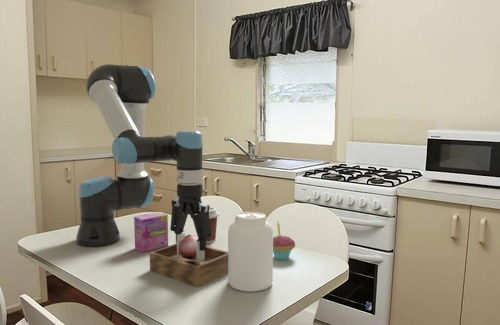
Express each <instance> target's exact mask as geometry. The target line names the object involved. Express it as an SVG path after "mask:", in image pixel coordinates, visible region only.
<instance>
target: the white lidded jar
mask: <svg viewBox="0 0 500 325" xmlns="http://www.w3.org/2000/svg"><path fill="white" fill-rule="evenodd" d="M227 238H228V239H227V246H228V248H227V252H228V273H227V281H228V284H229V286H230V287H231V288H233V289H235V290H237V291H242V292H247V293H248V292H250V293H251V292H260V291H264V290H266V289H268V288H270V287H271V285H272V283H273V278H274V276H273V275H274V272H273V270H274V268H273V267H274V253H273V238H274V230H273V226H272V224H271V223H269V221H268V220H267V216H266V214H265V213H264V212H260V211H243V212H239V213H237V214H236V215H235V217H234V221H232V223H231V224H230V225H229V227H228V231H227Z"/></svg>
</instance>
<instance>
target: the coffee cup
mask: <svg viewBox="0 0 500 325" xmlns="http://www.w3.org/2000/svg"><path fill="white" fill-rule="evenodd" d="M196 214H197V213H196ZM196 214H194V215H196ZM219 216H220V212H218V211H217V208H216V207H213V206H212V207H211V206H210V208H209V219H210V227H211V238H208V239H206V244H211V243H214V242H216V240H217V239H216V237H217V228H218V226H217V224H218V217H219Z"/></svg>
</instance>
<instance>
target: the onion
mask: <svg viewBox="0 0 500 325" xmlns="http://www.w3.org/2000/svg"><path fill="white" fill-rule="evenodd" d="M197 239H198V236H194V235H192V234H187V235H185V237H184V238H183V239H182V240H181V242H180V244H179V253H180V255H181V256H182V257H183V258H185V259H189V260H196V240H197Z"/></svg>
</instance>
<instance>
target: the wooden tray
mask: <svg viewBox="0 0 500 325" xmlns="http://www.w3.org/2000/svg"><path fill="white" fill-rule="evenodd" d="M149 271H152V272H154V273H157V274H159V275H162V276H165V277H168V278H170V279H173V280H175V281H176V280H177V281H179V282H182V283H186V284H187V285H191V286H194V287H196V288H199V287H201V286H202V285H205V284H207V283H208V282H209V283H210V282H211V281H213V280H215V279H218V278H220V277H221V276H224V275H226V274H228V251H226V250H223V249H219V248H215V247H211V246H207V245H206V250H205V259H204V260H202V261H199V262H197V261H196V260H189V259H185V258H183V257H182V256H181V255H180V256H178V255H177V244H176V243H173V244H171V245H168V246H166V247H162V248H158V249H157V250H156V249H155V250H152V251H150V252H149Z"/></svg>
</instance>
